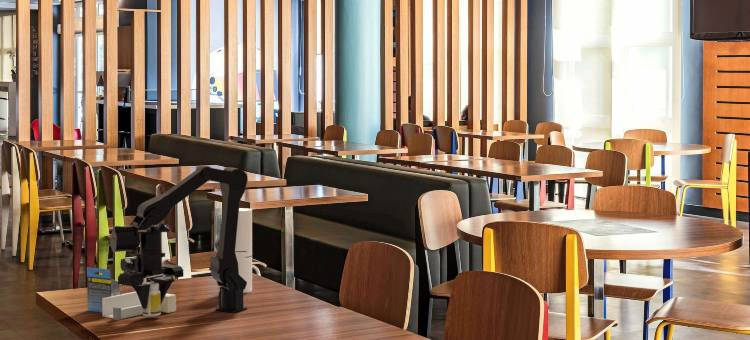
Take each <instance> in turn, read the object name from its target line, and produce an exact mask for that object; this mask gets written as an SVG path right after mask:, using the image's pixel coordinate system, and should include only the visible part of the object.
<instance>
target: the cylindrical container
mask: <svg viewBox="0 0 750 340" xmlns="http://www.w3.org/2000/svg"><path fill="white" fill-rule="evenodd" d="M235 254H236V257H237V261H238V269H239V275H240V276H241V277H242V278H243V279H244V280H245V281H246V282H247V285H246V288H245V289H244V290H243V294H247V293H252V291H253V209H252V208H246V207H245V208H244V207H242V208H241V207H239V215H238V226H237V236H236V247H235Z"/></svg>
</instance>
